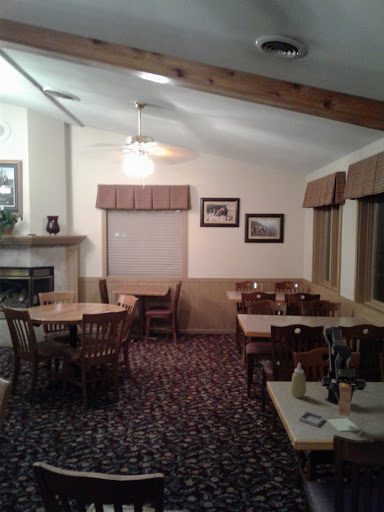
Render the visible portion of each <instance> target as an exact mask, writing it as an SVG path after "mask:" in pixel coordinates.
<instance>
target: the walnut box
mask: <svg viewBox="0 0 384 512" xmlns="http://www.w3.org/2000/svg"><path fill="white" fill-rule="evenodd" d="M339 396H340V401H338V403H337V412H338V415H339V416H347V417H351V404H352V401H351V386H350V384H346V383H339Z"/></svg>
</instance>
